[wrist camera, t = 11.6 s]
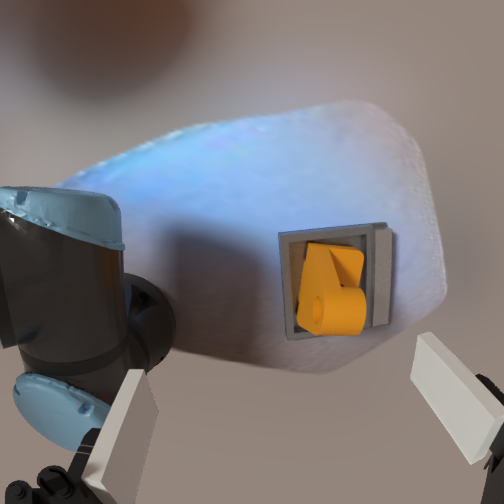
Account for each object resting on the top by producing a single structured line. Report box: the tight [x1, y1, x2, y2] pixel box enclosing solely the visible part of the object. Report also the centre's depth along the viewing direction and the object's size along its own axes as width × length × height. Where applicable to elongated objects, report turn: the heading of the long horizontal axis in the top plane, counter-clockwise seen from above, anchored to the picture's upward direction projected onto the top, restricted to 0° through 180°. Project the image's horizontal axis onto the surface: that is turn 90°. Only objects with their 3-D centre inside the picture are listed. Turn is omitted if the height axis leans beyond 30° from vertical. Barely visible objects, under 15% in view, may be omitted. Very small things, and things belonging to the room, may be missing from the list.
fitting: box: [278, 222, 392, 340], centre depth 42 cm, size 15×15×2 cm
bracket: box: [296, 243, 366, 336], centre depth 37 cm, size 11×7×12 cm, turn 174°
